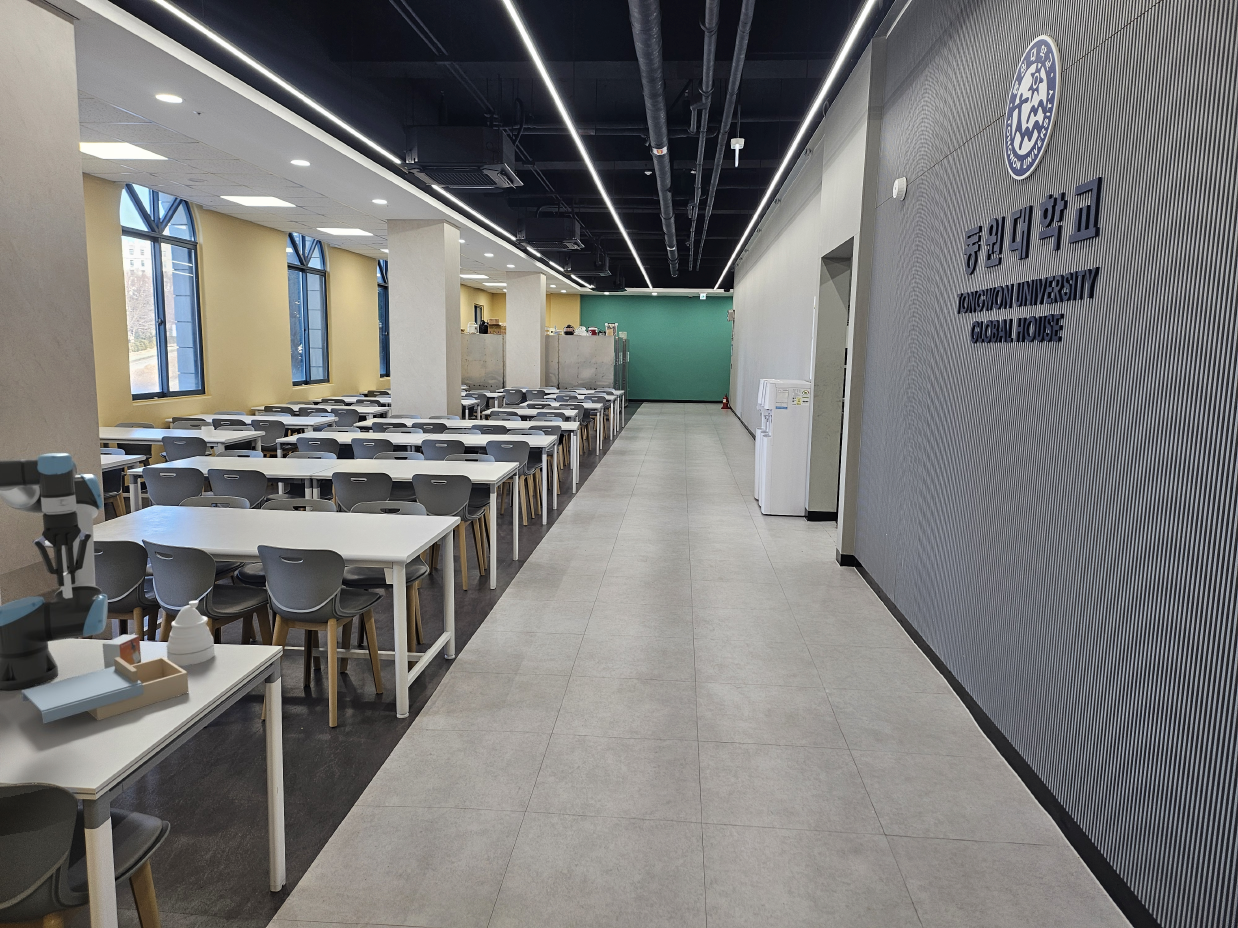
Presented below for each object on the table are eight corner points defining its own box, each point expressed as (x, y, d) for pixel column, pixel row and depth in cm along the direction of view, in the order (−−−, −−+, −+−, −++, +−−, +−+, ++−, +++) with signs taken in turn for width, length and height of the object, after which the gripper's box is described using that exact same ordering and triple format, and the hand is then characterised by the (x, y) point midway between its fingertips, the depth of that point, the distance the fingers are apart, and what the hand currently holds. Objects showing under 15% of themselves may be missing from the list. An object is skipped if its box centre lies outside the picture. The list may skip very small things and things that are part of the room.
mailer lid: (22, 700, 202) (20, 678, 201) (118, 674, 219) (116, 654, 218) (43, 723, 190) (41, 699, 189) (143, 694, 207) (141, 672, 206)
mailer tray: (76, 701, 211) (74, 680, 210) (164, 676, 228) (163, 656, 227) (97, 720, 200) (95, 698, 199) (188, 692, 217) (187, 672, 216)
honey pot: (222, 649, 248) (219, 595, 246) (200, 665, 235) (196, 608, 233) (182, 649, 248) (178, 595, 246) (158, 665, 236) (154, 608, 233)
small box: (121, 679, 225) (118, 644, 224) (104, 678, 226) (101, 643, 225) (142, 668, 233) (139, 634, 232) (126, 667, 234) (123, 633, 232)
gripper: (34, 517, 199) (42, 605, 203) (92, 509, 209) (100, 594, 212) (25, 513, 204) (34, 599, 207) (83, 506, 214) (91, 588, 217)
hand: (67, 596), depth 210 cm, fingers closed
